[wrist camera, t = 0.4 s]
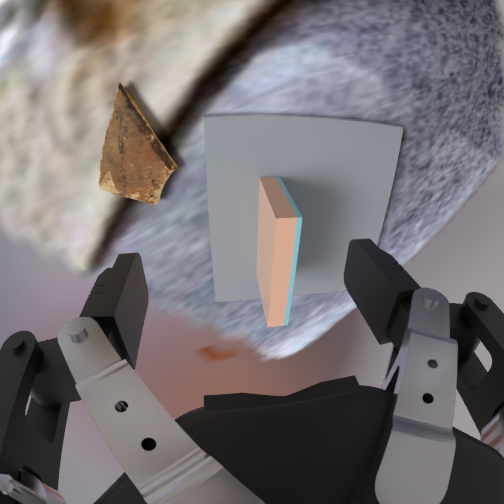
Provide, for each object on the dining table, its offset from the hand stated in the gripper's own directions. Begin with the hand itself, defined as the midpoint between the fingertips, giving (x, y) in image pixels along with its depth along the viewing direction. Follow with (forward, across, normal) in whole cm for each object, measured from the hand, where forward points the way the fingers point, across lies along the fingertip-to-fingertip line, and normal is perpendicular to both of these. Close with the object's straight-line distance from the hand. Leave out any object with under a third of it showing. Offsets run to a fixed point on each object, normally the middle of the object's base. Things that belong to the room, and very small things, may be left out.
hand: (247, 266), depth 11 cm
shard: (+20, +10, -2) cm, 22 cm away
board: (+20, -8, +7) cm, 23 cm away
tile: (+19, -4, +8) cm, 21 cm away
